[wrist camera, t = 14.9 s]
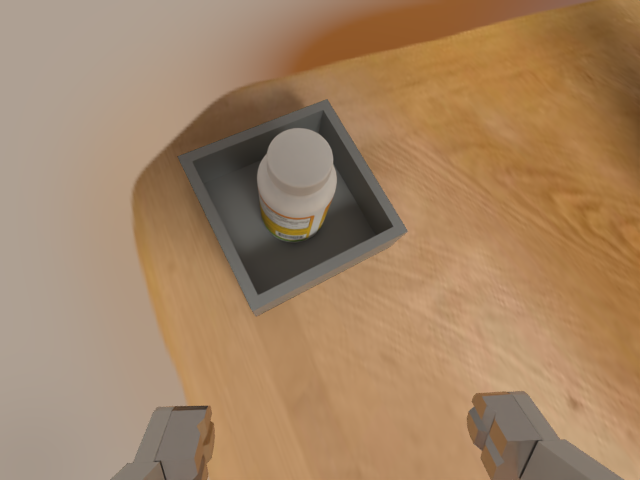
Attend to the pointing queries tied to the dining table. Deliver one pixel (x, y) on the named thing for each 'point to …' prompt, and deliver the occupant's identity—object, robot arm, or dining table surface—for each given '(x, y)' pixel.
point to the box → (246, 221)
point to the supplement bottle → (296, 184)
